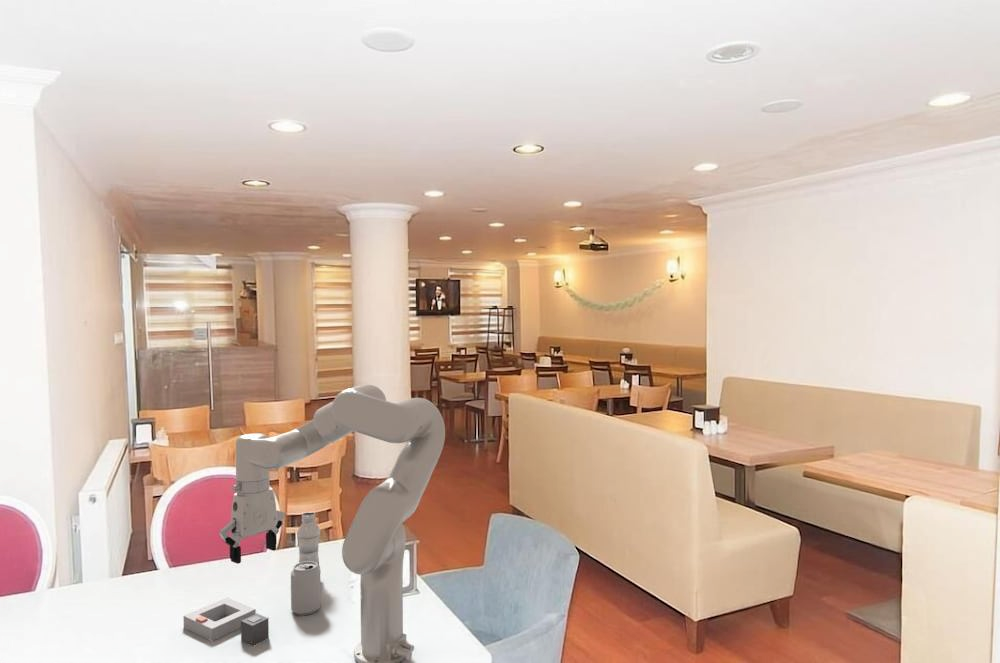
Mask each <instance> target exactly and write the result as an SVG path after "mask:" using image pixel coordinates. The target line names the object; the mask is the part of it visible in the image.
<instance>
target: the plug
mask: <svg viewBox="0 0 1000 663" xmlns="http://www.w3.org/2000/svg"><path fill="white" fill-rule="evenodd" d="M269 627H270V626H269V617H267V616H264V615H262V614H259V613H256V614H255V615H253V616H250V617H248V618H246V619H244V620H242V621H241V628H240V642H242V643H244V644H246V645H248V644H249V645H248V646H251V647H254V645H255V646H257V645H258V643H259V644H261V643H263V642H264V641H267V640H268V639H269V638H270V636H269V630H270V628H269ZM262 641H263V642H262ZM260 642H261V643H260ZM256 644H257V645H256Z"/></svg>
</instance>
